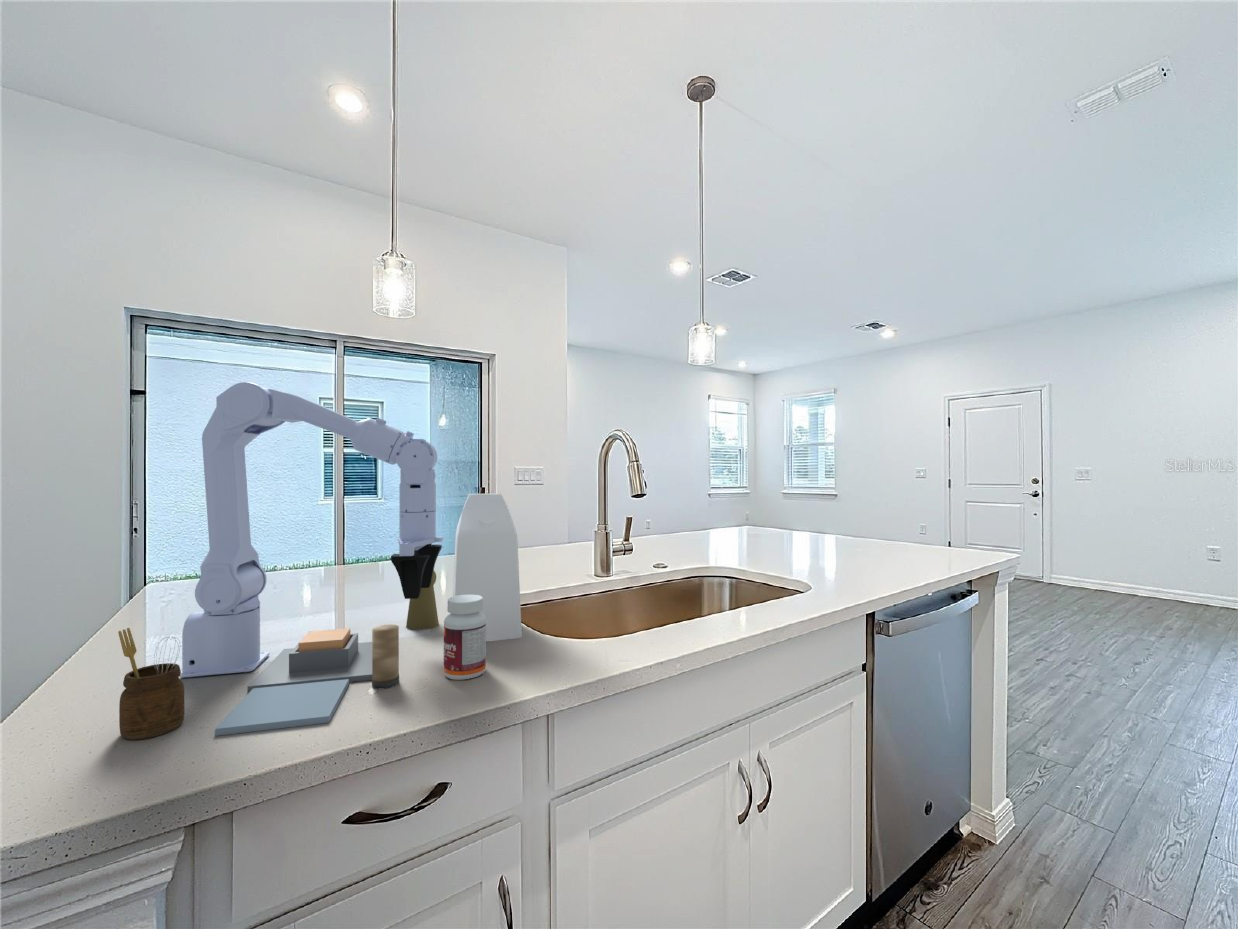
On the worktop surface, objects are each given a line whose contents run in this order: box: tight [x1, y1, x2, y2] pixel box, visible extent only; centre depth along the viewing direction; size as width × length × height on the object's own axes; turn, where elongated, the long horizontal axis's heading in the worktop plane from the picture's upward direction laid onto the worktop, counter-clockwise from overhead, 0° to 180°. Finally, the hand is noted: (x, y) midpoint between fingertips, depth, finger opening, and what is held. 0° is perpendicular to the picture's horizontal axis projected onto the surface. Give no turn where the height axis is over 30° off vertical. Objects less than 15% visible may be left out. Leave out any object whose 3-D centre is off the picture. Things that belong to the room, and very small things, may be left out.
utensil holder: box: [117, 627, 185, 741], centre depth 66 cm, size 6×6×12 cm
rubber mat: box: [214, 679, 350, 737], centre depth 71 cm, size 12×12×1 cm
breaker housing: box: [247, 632, 372, 693], centre depth 86 cm, size 16×16×4 cm
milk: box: [452, 492, 523, 642], centre depth 104 cm, size 12×12×26 cm
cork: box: [405, 570, 440, 631], centre depth 108 cm, size 6×6×11 cm
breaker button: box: [297, 628, 351, 652], centre depth 86 cm, size 6×6×2 cm
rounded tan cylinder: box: [371, 624, 400, 689], centre depth 79 cm, size 4×4×8 cm
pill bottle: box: [443, 595, 487, 681], centre depth 83 cm, size 6×6×11 cm
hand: (417, 592), depth 92 cm, fingers open, 7 cm apart
